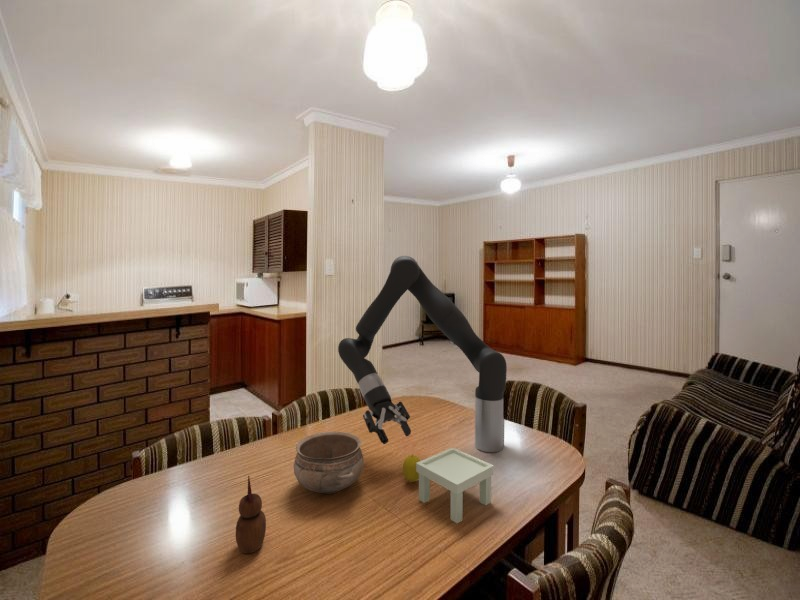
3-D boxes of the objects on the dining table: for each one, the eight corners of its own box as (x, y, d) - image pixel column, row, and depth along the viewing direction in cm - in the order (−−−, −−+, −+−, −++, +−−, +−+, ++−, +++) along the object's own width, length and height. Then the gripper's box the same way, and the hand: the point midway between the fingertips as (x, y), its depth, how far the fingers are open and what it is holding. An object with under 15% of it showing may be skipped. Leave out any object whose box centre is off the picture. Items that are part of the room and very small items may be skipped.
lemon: (420, 488, 108) (420, 460, 107) (400, 486, 109) (400, 458, 108) (423, 478, 113) (423, 451, 112) (404, 476, 114) (404, 449, 114)
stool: (452, 481, 111) (452, 447, 111) (493, 502, 101) (493, 465, 100) (416, 499, 102) (416, 462, 102) (457, 525, 92) (457, 484, 91)
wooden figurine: (242, 537, 88) (240, 472, 87) (269, 536, 88) (267, 471, 87) (232, 559, 81) (230, 489, 80) (261, 557, 82) (259, 487, 81)
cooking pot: (282, 477, 114) (281, 436, 113) (342, 460, 124) (341, 422, 123) (312, 523, 93) (311, 472, 92) (382, 498, 103) (381, 452, 102)
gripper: (360, 389, 116) (384, 439, 108) (397, 380, 125) (421, 426, 117) (350, 402, 121) (372, 451, 113) (386, 393, 130) (410, 438, 122)
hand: (397, 438), depth 115 cm, fingers open, 8 cm apart
